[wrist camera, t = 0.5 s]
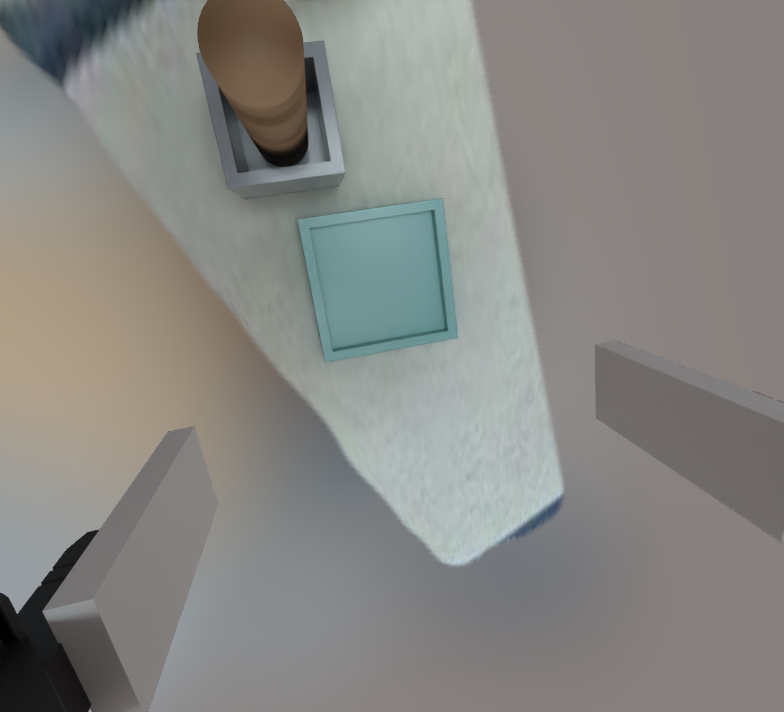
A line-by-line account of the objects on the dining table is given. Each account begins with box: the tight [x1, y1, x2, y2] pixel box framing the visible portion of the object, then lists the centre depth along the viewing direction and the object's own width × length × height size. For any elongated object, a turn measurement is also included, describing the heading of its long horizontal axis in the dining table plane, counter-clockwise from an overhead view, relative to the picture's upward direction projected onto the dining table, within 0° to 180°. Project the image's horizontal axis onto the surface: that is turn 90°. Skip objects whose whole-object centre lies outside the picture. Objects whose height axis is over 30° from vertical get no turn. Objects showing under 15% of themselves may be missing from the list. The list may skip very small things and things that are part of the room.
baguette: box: [198, 0, 308, 167], centre depth 26 cm, size 4×4×18 cm
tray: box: [297, 198, 458, 363], centre depth 39 cm, size 12×12×2 cm
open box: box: [196, 41, 345, 199], centre depth 32 cm, size 8×8×8 cm
